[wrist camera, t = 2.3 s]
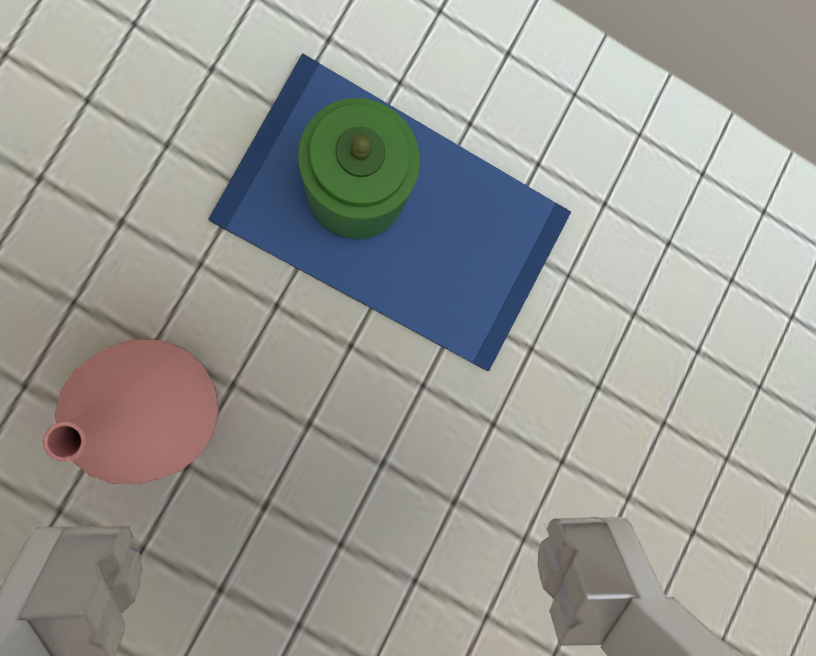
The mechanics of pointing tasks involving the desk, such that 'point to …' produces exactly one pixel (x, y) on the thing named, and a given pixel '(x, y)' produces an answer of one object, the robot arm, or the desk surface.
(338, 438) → the desk surface
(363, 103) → the green lidded canister
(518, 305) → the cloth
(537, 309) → the desk surface
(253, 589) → the desk surface
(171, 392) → the pink vase
